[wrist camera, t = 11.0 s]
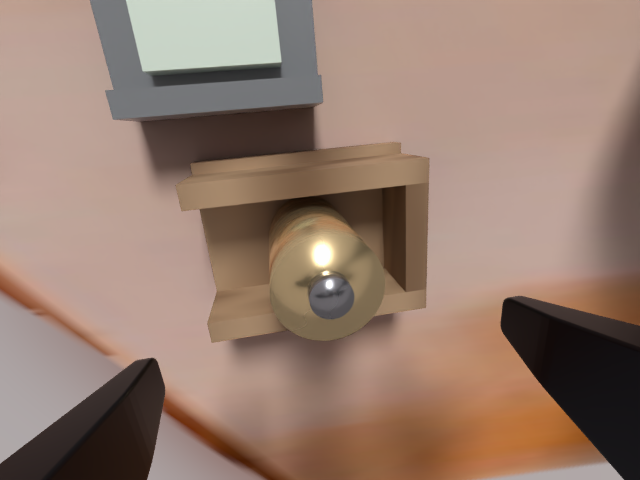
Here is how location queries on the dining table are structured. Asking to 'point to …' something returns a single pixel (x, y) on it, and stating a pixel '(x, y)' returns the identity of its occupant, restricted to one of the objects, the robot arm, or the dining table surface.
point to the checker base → (209, 87)
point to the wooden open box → (302, 181)
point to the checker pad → (205, 35)
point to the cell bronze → (321, 271)
